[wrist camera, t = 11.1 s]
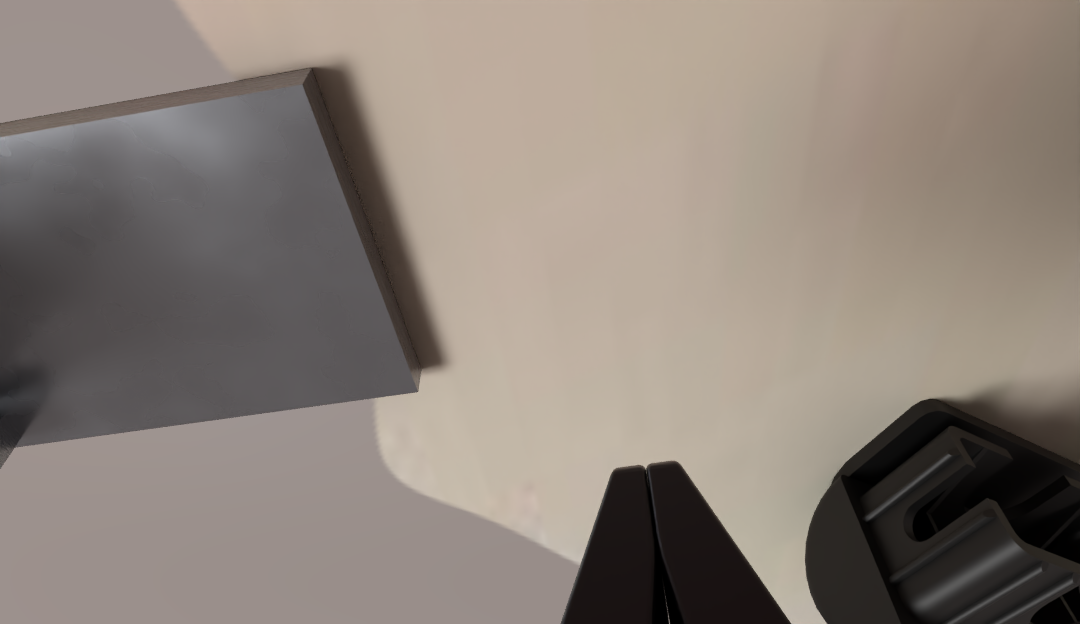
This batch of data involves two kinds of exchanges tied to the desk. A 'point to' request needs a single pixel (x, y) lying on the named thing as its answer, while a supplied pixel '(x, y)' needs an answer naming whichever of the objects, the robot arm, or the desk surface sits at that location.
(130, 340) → the rack deck
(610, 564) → the robot arm
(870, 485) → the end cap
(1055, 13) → the desk surface
